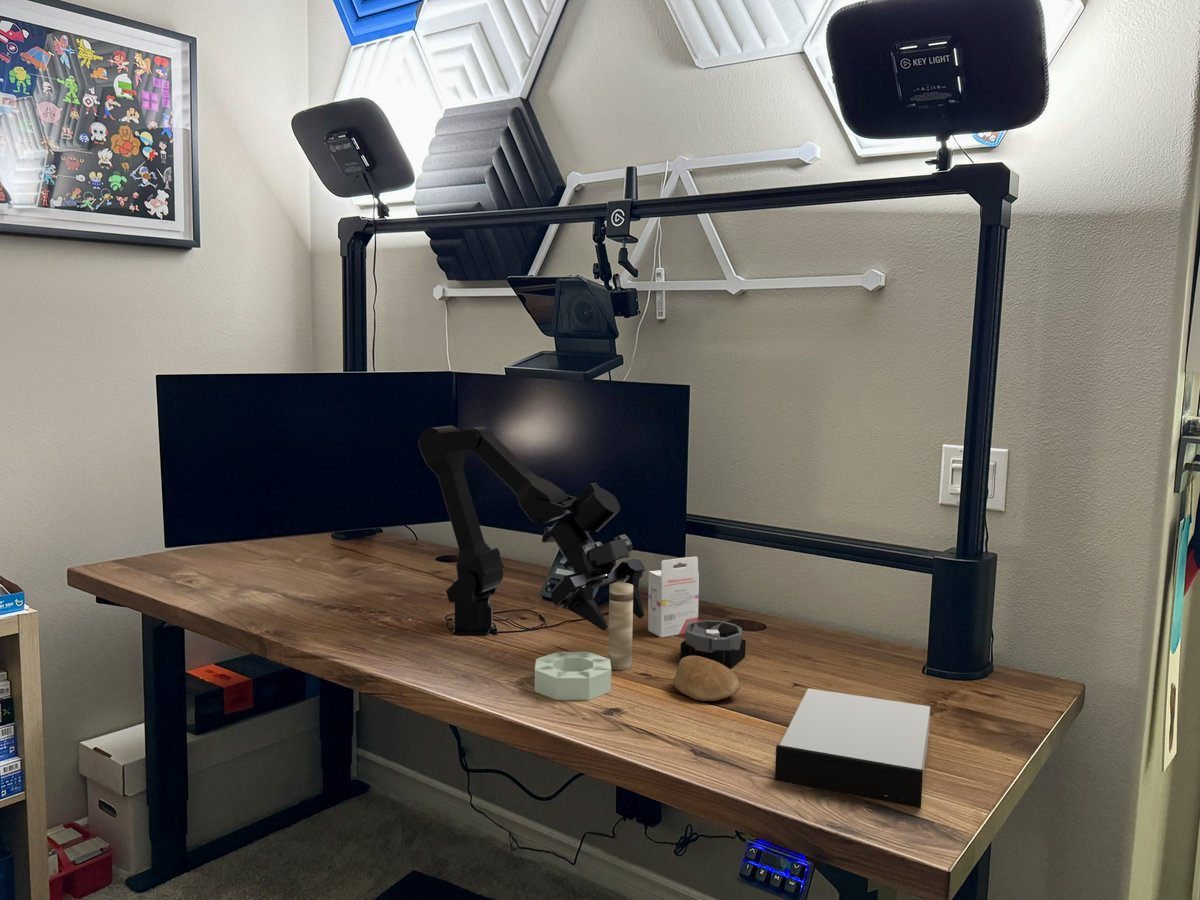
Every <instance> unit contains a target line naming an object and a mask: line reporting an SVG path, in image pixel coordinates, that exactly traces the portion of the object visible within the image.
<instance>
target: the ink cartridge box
mask: <svg viewBox="0 0 1200 900" xmlns="http://www.w3.org/2000/svg"><path fill="white" fill-rule="evenodd" d="M660 563H661V565H660V566H661V567H660V568H661V570H649V571H648V591H647V592H648V596H647V597H648V598H647V600H648V601H647V604H648V606H647V607H648V608H647V609H648V610H647V611H648V613H647V615H648V616H647V621H648V622H647V631H648V632H650V633H652V634H654V635H655V636H657V637H659V638H667V637H673V636H678V635H685V632H686V627H687V626H688V625H689V623H691V622H698V621H699V590H700V589H699V586H700V585H699V583H700V582H699V581H700V579H699V577H700V574H699V560H698V556H689V557H680V558H679V557H678V558H672V559H663V560H661V562H660ZM679 563H680V564H681V565H685V566H683V567H675V568H674V566H676V565H679Z"/></svg>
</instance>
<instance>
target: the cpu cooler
mask: <svg viewBox="0 0 1200 900" xmlns="http://www.w3.org/2000/svg"><path fill="white" fill-rule="evenodd" d="M742 632H743V628H742V627H741V626H739V625H737V624H736V623H731V622H727V621H724V620H708V619H707V620H706V619H705V620H701V621H699V620H698V622H691V623H689V625H688V626H687V627H686V632H685V634H684V640H683V641H682V642H680V658H679V661H681V659H682V658H684V657H687V656H701V657H704V658H707V659H710V660H713V661H716V662H718V663H721V664H722V665H724V666H726V667H728V668H729V669H730V670H731V669H733V668H734V667H735V666H737V665H738V664H739V663H741V661H742V660H743V659H745V657H746V645H747V643H746V639H744V638H743V637H742V634H743V633H742Z"/></svg>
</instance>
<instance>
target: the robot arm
mask: <svg viewBox="0 0 1200 900" xmlns="http://www.w3.org/2000/svg"><path fill="white" fill-rule="evenodd" d="M418 447H419V451H420V453H421V456H422V459H424V462H425V464H426V465H427V467H428V468H430V470H431V471H432V472H433V473H434V474H435V475H436V476H437V478H438V482H439V486H440V489H441V492H442V496H443V500H444V502H445V506H446V510H447V514H448V516H449V519H450V523H451V526H452V529H453V534H454V536H455V540H456V543H457V547H458V548H457V549H458V554H457V560H456V565H455V568H456V573H457V574H456V575H457V579H456V580H455V582H453V583H452V584H451V586H450V587H448V588H447V590H446V591H445V593H446V596H447V599H448V602H449V603H453V604H454V629H453V631H452V634H453V635H480V636H481V635H488V634H489V632H490V630H491V629H492V628H493V604H492V603H490V596H494V595H495V594H496V591H497V588H498V587H499V586H500V584H501V583H502V580H503V579H504V570H505V566H504V564H503V561H502V559H501V554H500V553H501V552H500V550H499V548H498V547H496V548H493V549H491V548H490V546H489V545H488V544H487V543H486V542H485V539H484V536H483V533H482V530H481V529H482V528H481V526H480V522H479V519H478V515H477V511H476V507H475V505H474V501H473V499H472V498H473V497H472V495H471V492H470V487H469V485H468V481H467V478H466V474H465V470H464V467H465V461H466V455H467V453H466V450H471V451H472V452H473V453H474V455H475V454H476V456H477V457H479V459H480V460H481V461H482V462H483V463H485V465H487V467H489V469H491V470H492V471H493V472H494V473H495V474H496V476H497V477H499V479H501V481H503V482H504V483H505V484H506V485H507V486H508V487H509V488H510V489H511V490H512V491H513V493H514V494H515V496H516V498H517V500H518V501H517V502H518V505H519V506H520V508H521V510H523V512H524V514H525V515H526V516H527V517H528V519H529V520H530V521H531V522H533V523H535V524H547V523H550V522H552V521H556V520H557V522H555V523H554V524H553V525H552V526H545V527H544V531H543V532H544V533H543V535H542V538H541V541H542V543H544V544H545V543H555V544H556V545H557V547H558V549H559V550H560V553H562V556H563V557H564V559H565V560H566V561H565V562H564V563H563V564H562V565H563V567H564V568H565V570H569V569H571V570H572V572H573V573H571V574H567V575H564V576H563V577H562V578H561V579H560V580H559V581H558V583H557V584H556V585H555V586H554V587H553V588H552V589H551V593H550V599H551V600H552V602H553V604H554V605H555V606H554V607H556V608H558V607H562V609H563V610H568V611H571V612H572V613H574V614H575V615H577V616H579V617H581V618H583V619H584V620H586V621H588V622H589V623H591V624H592V625H594V626H595V627H596V628H598V629H600V630H601V631H603V632H604V631H607V629H609V625H608V624H607V621H606V619H605V617H604V615H603V613H602V612H601V610H600V608H599V607H598V604H597V603H596V601H595V599H594V595H593V589H595V588H599V587H603V586H606V585H610V584H613V583H629V584H632V585H633V615H635V616H636V617H637V618H638V619H639V620H641V619H643V618H644V616H645V612H644V608H643V604H642V598H641V595H640V589H639V583H640V579H642V577H643V576H644V575H643V573H644V572H645V571H646V569H647V568H646V567H645V565H644V564H643V562H642V560H641V559H638V558H632V559H628V560H624V561H621V562H620V563H619V565H617V562H616V561H619V560H621V559H623V558H626V559H627V558H629V557H631V554H630V553H631V552H632V551H633V547H634V546H633V543H632V541H631V539H630V538H629V537H628V536H627V535H626V533H624V534H621V535H620V534H619V535H617V536H615V537H613V538H612V541H608V542H605V543H602V542H601V541H594V540H593V538H592V537H591V535H590V534H589V532H592V533H597V532H599V531H600V530H601V529H602V528H603V527H604V526H605V525H606V524H607V523H608V522H609V521H610V520H612V519H613V518H614V517H615V515H617V514H618V513H619V512H620V510H621V506H620V503H619V501H618V499H617V498H616V496H615V495H614V494H613V493H611V492H610V491H608V490H606V489H605V488H603V487H600V486H599V485H598V483H597V482H593V483H590V484H588V485H587V486H586V488H585V489H584V491H583V492H582V493H581V494H579V496H578V497H576V496H571V495H568V494H566V492H565V491H564V490H563V489H562V488H560V487H559V486H557V485H555V484H554V483H553V482H552V481H550V480H547V479H545V478H543V477H540V476H538V475H536V474H535V473H533V471H531V470H530V469H529V468H528V467H527V466H526V465H525V464H524V462H522V461H521V459H519V458H518V456H516V455H515V454H514V453H512V451H511V450H510V449H509V448H508V447H507V446H506V445H504V443H503V442H501V440H500V439H498V438H497V437H496V436H495V435H494V433H493V431H492V429H490V428H489V427H486V426H478V427H472V428H468V429H467V428H466V429H460V428H458V427H456V426H454V425H444V426H443V425H442V426H437V427H429V428H425V430H423V431H422V433H421V434H420V437H419V438H418ZM567 514H569V515H568V516H567V517H566V518H563V517H564V516H565V515H567ZM615 566H617V567H615ZM612 568H613V569H614V568H615V569H614V570H613V571H611V569H612ZM490 628H491V629H490ZM488 629H489V630H488Z"/></svg>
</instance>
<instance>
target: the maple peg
mask: <svg viewBox="0 0 1200 900" xmlns="http://www.w3.org/2000/svg"><path fill="white" fill-rule="evenodd" d="M608 590H609V593H608V594H609V595H608V600H609V603H608V605H609V606H608V645H607V646H608V647H607V648H608V650H607V651H608V652H607V653H608V654H607V658H608V659H610V663H611V670H614V671H615V670H616V671H627V670H630V669H632V665H633V664H632V663H633V662H632V660H633V658H632V657H633V617H634V613H633V585H632V584H629V583H613V584H609V589H608Z"/></svg>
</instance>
